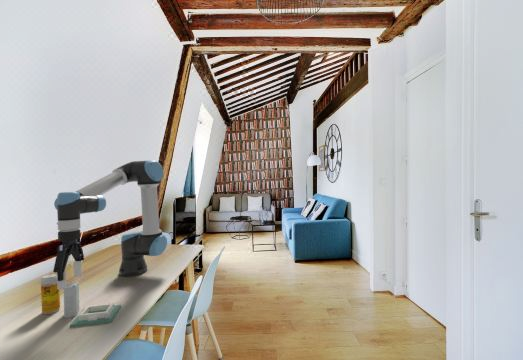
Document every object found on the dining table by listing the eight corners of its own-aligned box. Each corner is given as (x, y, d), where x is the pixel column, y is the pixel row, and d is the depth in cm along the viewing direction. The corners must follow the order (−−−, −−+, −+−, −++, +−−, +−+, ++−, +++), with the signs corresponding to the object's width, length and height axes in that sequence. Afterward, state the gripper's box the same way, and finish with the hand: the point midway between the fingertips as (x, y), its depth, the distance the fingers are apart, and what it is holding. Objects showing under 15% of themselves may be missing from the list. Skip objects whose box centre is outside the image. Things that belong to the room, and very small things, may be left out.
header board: (84, 311, 115) (84, 303, 115) (121, 306, 117) (120, 299, 117) (69, 327, 102) (69, 319, 102) (111, 322, 105) (110, 314, 105)
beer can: (39, 316, 111) (38, 279, 111) (44, 309, 117) (43, 274, 117) (58, 312, 114) (56, 276, 113) (61, 306, 119) (60, 272, 119)
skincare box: (67, 311, 114) (66, 283, 114) (80, 309, 116) (79, 281, 116) (63, 318, 109) (62, 288, 108) (77, 316, 110) (76, 286, 110)
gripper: (73, 225, 123) (74, 272, 123) (40, 236, 99) (42, 295, 99) (91, 224, 125) (92, 271, 125) (64, 235, 100) (65, 293, 100)
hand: (70, 282), depth 112 cm, fingers open, 13 cm apart
